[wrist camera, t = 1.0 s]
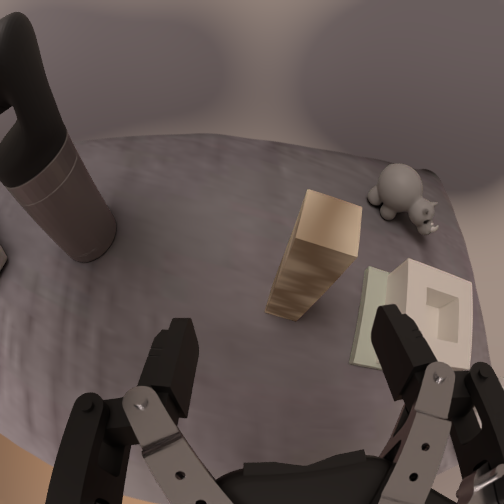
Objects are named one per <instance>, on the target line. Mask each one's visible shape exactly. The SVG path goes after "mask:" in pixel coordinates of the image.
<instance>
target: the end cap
mask: <svg viewBox="0 0 504 504" xmlns="http://www.w3.org/2000/svg"><path fill="white" fill-rule="evenodd" d="M389 304H396V305H397V307H398V308H399V310H400V312H401V313H402V314H407V315H408V316H409V317H410V318H412V319H413V320H414V321H415V323H416V325H417V326H418V328H419V330H420V331H421V333H422V334H423V337H424V338H425V340H426V341H427V343H428V345H429V346H430V348H431V350H432V352H433V353H434V355H435V357H436V359H437V360H438V362H444V363H446V364H448V365H449V366H450V367H451V368H452V369H453V371H463V370H468V369H469V368H470V359H471V346H472V324H473V301H472V282H469V281H467V280H464V279H462V278H459V277H457V276H454V275H452V274H449V273H447V272H444V271H441V270H439V269H436V268H434V267H431V266H428V265H426V264H423V263H420V262H418V261H415V260H412V259H410V258H408V259H407V260H406V261H404V262H403V263H402V264H401V265H400V266H399V267H397V268H396V269H395V270H394V271H392V272H391V273H389V272H386V271H383V270H379V269H376V268H373V267H370V266H369V267H368V268H367V269H366V270H365V272H364V280H363V288H362V295H361V302H360V308H359V314H358V320H357V325H356V331H355V336H354V341H353V346H352V351H351V355H350V360H349V364H352V365H357V366H362V367H367V368H372V369H377V370H382V368H381V365H380V363H379V360H378V358H377V355H376V353H375V350H374V348H373V345H372V342H371V330H372V326H373V323H374V319H375V315H376V311H377V308H378V307H379V306H382V305H389Z"/></svg>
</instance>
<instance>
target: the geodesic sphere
mask: <svg viewBox="0 0 504 504" xmlns="http://www.w3.org/2000/svg"><path fill="white" fill-rule="evenodd" d="M498 380H499V382H500V383H501V385H502V387H503V389H504V377H499V378H498ZM473 410H474V412H475V415H476V417H477V420H478V422H479V425H480V428H482V423H481V420H480V417H479V415H478V412H477V410H476V408H475V407H474V408H473Z"/></svg>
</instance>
